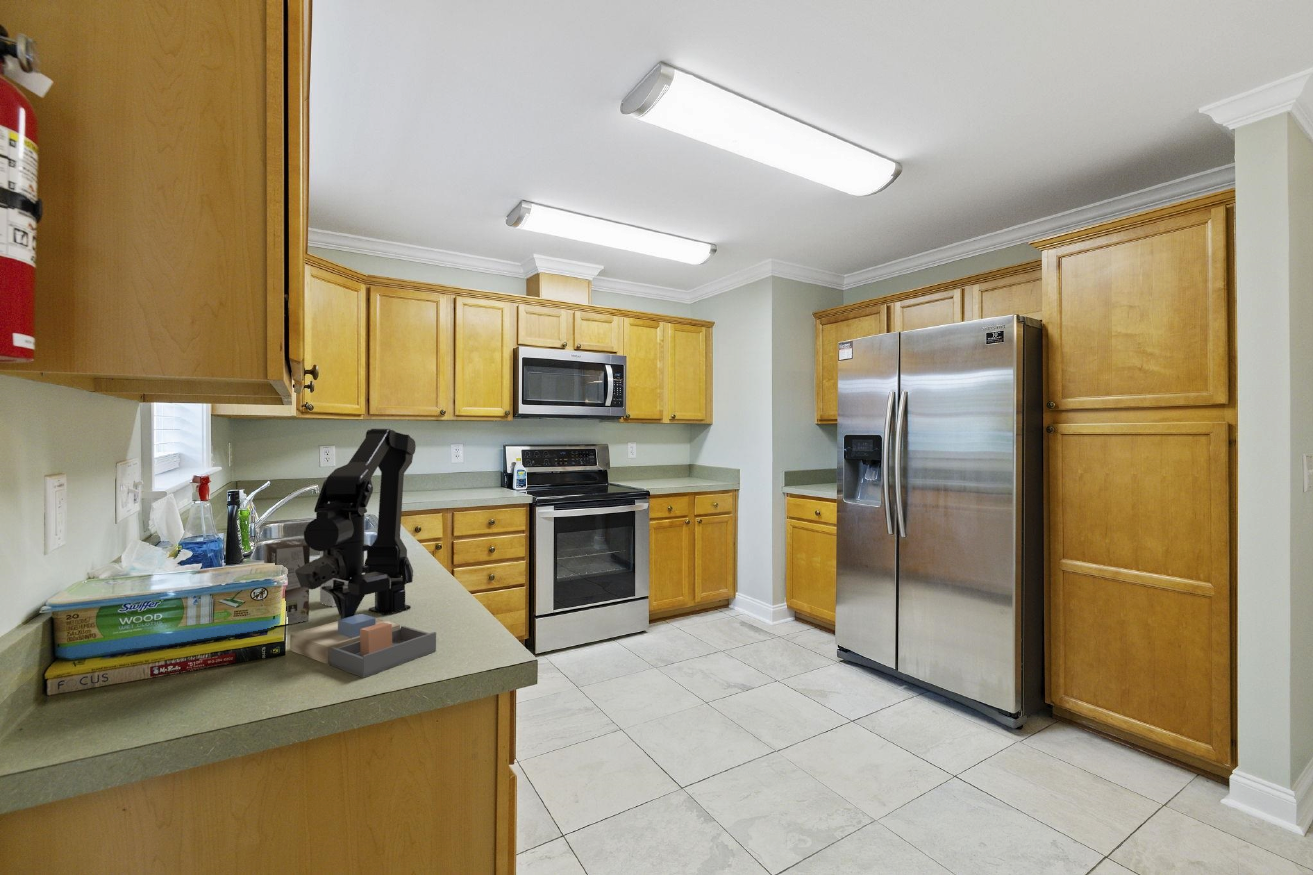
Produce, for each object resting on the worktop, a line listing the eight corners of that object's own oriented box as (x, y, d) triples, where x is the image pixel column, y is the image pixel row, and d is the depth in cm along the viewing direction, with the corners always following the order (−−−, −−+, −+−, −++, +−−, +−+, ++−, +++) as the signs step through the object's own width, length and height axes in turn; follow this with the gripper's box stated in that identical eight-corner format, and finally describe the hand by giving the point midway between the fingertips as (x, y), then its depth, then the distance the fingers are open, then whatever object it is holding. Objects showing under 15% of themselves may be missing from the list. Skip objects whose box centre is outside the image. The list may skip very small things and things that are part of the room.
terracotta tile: (360, 629, 105) (368, 630, 103) (383, 622, 108) (391, 624, 107) (360, 654, 104) (369, 656, 103) (383, 647, 108) (392, 648, 107)
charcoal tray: (329, 664, 101) (329, 644, 101) (401, 640, 113) (401, 622, 113) (364, 677, 96) (364, 656, 96) (436, 651, 108) (436, 632, 108)
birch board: (290, 650, 108) (290, 633, 108) (362, 629, 120) (362, 614, 120) (327, 664, 102) (327, 646, 102) (399, 640, 114) (399, 624, 114)
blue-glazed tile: (337, 633, 108) (337, 619, 108) (360, 626, 112) (361, 613, 112) (352, 638, 106) (352, 624, 106) (375, 631, 110) (375, 617, 110)
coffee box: (310, 620, 124) (311, 544, 124) (275, 628, 120) (275, 548, 120) (296, 611, 131) (297, 538, 131) (262, 618, 126) (263, 542, 126)
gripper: (275, 541, 108) (274, 626, 109) (333, 553, 99) (332, 646, 99) (334, 533, 118) (333, 611, 118) (393, 543, 108) (392, 628, 108)
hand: (346, 623), depth 111 cm, fingers closed
